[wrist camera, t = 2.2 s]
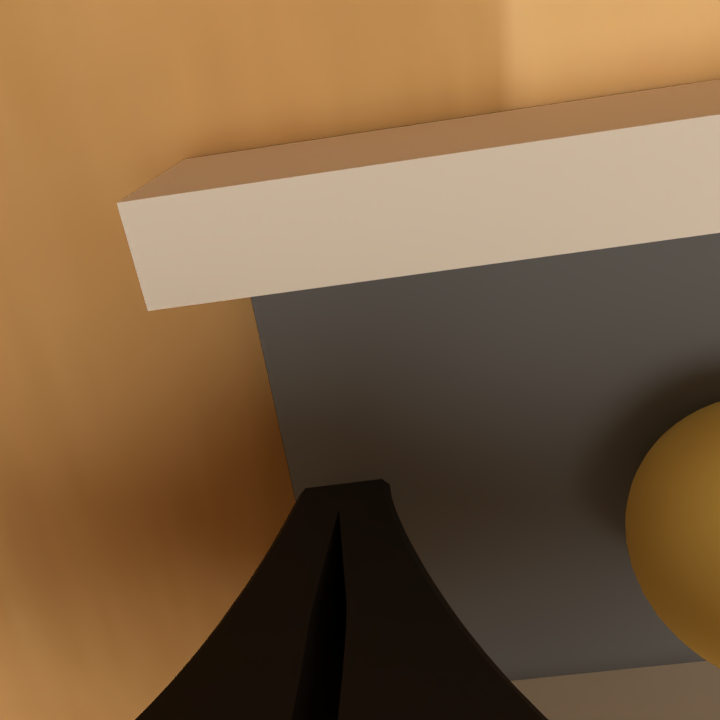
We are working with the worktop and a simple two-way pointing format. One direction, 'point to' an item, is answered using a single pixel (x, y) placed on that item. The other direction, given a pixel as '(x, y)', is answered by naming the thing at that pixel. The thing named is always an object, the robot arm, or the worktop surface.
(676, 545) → the ball
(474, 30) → the worktop surface
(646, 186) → the lane
